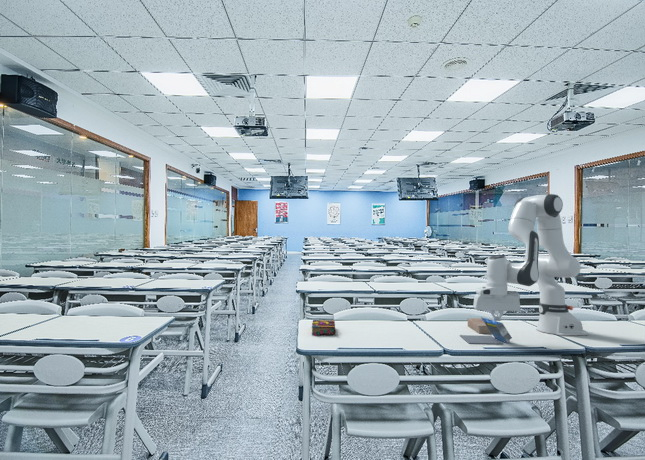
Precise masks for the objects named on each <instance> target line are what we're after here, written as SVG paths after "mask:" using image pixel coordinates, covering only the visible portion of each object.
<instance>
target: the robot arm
mask: <svg viewBox="0 0 645 460" xmlns="http://www.w3.org/2000/svg"><path fill="white" fill-rule="evenodd" d="M563 205H564V204H563V199H562V198H561V197H560V196H559V194H554V193H553V194H552V193H550V194H536V195H531V196H523V197H520V198H518V199H517V200H516V202H515V203H514V208H513V209H512V213H511V216H510V219H509V222H508V226H507V227H508V228H507V229H508V230H507V231H508V233H509V235H510V236H511V237H512V238H513V239H515V240H517V241H520V242H522V243H524V245H525V253H524V254H525V255H524V261H523V262H522V263H516V262H511V261H509V260H508V259H507V257H506V256H505V255H503V254H502V255H500V254H499V255H492V256H489V257H488V259H487V263H486V277H487V280H486V285H484V286H481V287H477V288H476V289H475V293H476V294H475V295H474V297H473V298H474V299H473V308H474V310H476V311H484V312H485V311H489V313H490V315H491V316H492V320H493V321H497V322H500V321H501V319H502V318H501V317H502V316H503V315H504V312H520V311H521V303H520V298H521V295H520V292H518V291H516V290H508V283H509V284H516V285H519V286H520V285H522V286H526V287H531V286H533V285H535V284H536V283H537V284H538V288H539V302H538V313H539V317H538V323H537V326H536V330H537V331H539V332H542V333H546V334H552V335H558V336H563V337H564V336H567V337H568V336H569V337H570V336H589V332H588V331H587V330H585V329H584V327H583V322H582V321H581V320H580V319H579V318H577V316H575V315H573V314H572V312H570V311H573V309H574V307H573V306H572V305H567V304H566V290H565V288H564V287H563V286H562V285H561V284H559V283H558V282H557V281H556V279H555V278H562V279H564V278H565V279H570V278H575V277H578V275H579V274H580V272H581V269H582V268H581V267H582V266H581V264H580V261H579V260H578V259H577V258H576V257H574V256H573V255H572V254H571V252H569V251H568V248H567V247H566V244H565V242H564V236H563V235H564V234H563V224H562V217H561V215H560V213H561V212H562V210H563V207H564V206H563ZM535 225H536V230H535ZM540 247H541V248H542V249H545V250H546V252H547V253H548V254H539V253H540V251H539V250H540V249H539V248H540ZM569 310H570V311H569ZM496 312H498V314H497V316H496V315H495V314H496Z"/></svg>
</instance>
